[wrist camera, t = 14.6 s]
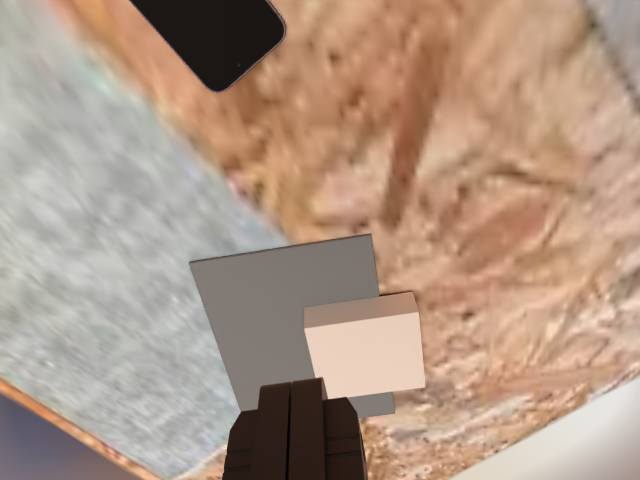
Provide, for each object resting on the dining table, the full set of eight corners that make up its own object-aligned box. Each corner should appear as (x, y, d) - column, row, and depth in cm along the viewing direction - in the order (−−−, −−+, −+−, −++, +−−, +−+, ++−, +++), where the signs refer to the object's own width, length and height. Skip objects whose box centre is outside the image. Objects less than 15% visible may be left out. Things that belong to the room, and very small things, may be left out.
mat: (370, 233, 43) (371, 235, 43) (394, 411, 54) (395, 413, 54) (189, 261, 44) (189, 263, 44) (248, 430, 55) (248, 432, 55)
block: (418, 312, 43) (304, 328, 44) (425, 387, 48) (320, 401, 48) (412, 291, 46) (304, 307, 47) (419, 364, 50) (320, 378, 51)
